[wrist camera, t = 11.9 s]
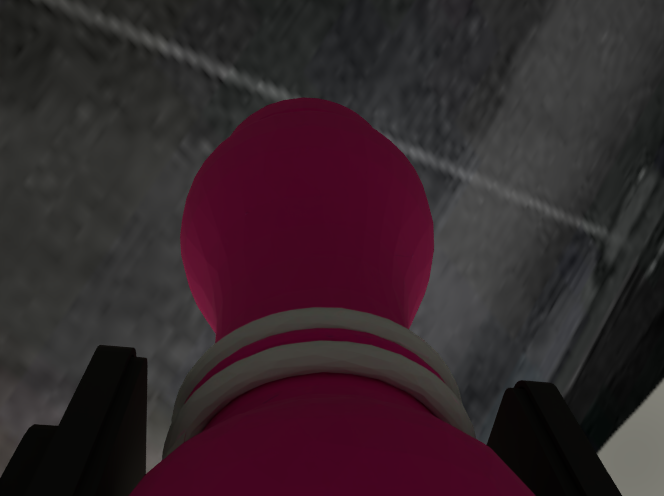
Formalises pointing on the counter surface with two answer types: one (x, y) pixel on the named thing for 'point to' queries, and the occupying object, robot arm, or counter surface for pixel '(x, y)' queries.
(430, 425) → the pepper mill
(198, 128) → the counter surface
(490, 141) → the counter surface
